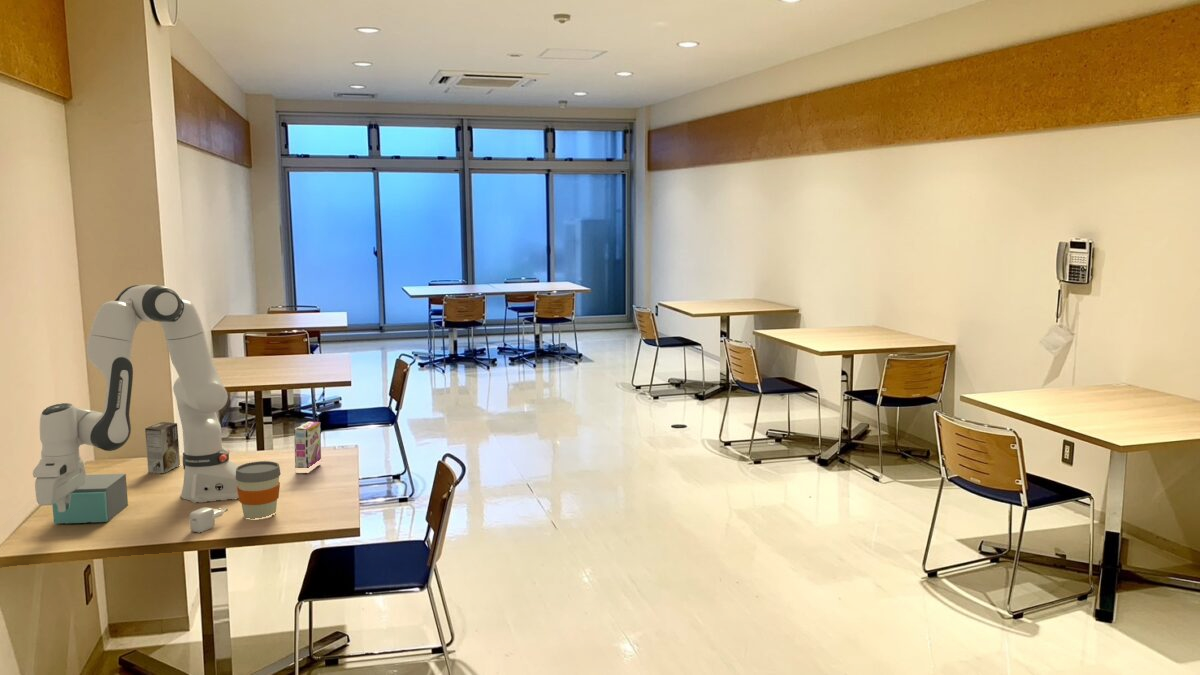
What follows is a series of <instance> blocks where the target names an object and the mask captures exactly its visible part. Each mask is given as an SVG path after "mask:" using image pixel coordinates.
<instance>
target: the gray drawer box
mask: <svg viewBox="0 0 1200 675" xmlns="http://www.w3.org/2000/svg"><path fill="white" fill-rule="evenodd" d="M127 486H128V485H127V473H104V474H103V473H102V474H86V481H85V484H83V485H82V486H80V487H79V488H77V489H76V490H74V491H73V492H103V491H106V498H107V512H108V521H107V522H106V523H109V522H110V521H111V520H113V519H114V518H115V517H116V516H117V515H119V514H120V513H121V512H122V511H123V510H124V509H126V508H127V507H128V506H129V501H128V500H129V499H128V487H127ZM73 492H72V493H73ZM86 523H87V522H86Z"/></svg>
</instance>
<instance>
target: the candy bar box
mask: <svg viewBox="0 0 1200 675" xmlns="http://www.w3.org/2000/svg"><path fill="white" fill-rule="evenodd" d="M321 439H322V437H321V422H320V421H307V422H305V423H302V424H301V425H299V426H297V427H294V459H295V460H294V467H295V468H309V467H310V466H312V465H313V464H315V463H316V462H317V461H319V460H320V459H321V460H322V447H321V446H322V442H321V441H322V440H321ZM295 468H294V469H295Z"/></svg>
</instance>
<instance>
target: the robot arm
mask: <svg viewBox="0 0 1200 675" xmlns="http://www.w3.org/2000/svg"><path fill="white" fill-rule="evenodd" d="M142 322H146V323H147V322H149V323H150V322H158V323H159V324H160V325H161V327H162V330H163V335H164V337H165V338H164V339H165V341H166V346H167V349H168V353H169V357H170V362H171V364H172V365H173V367H174V369H175V370H176V372H177V375H178V377H177V379H176V380H175V381H174V384H173V386H172V389H173V394H174V397H175V399H176V400H175V401H176V405H177V410H178V415H179V418H180V423H181V428H182V440H183V452H182V467H183V470H184V472H183V473H184V474H183V484H182V490H181V492H180V497H181V498H182V499H184V500H188V501H191V503H193V502H194V503H195V504H197V503H196V502H199V503H207V501H210V502H217V501H216V500H221V501H228V500H227V499H232V500H236V499H235V498H239V496H238V491H237V486H238V483H237V480H236V479H235V478H236V468H237V467H238V466H239V465H238V464H236V463H235V462H233V461H232V460H230V456H229V455H230V450H229V449H228V450H225V449H224V448H223V447H222V446H223V441H222V426H221V423H220V421H219V419H218V414H217V412H219V411H220V410H223V408H224V407H225V406H226V404H227V401H228V397H229V396H228V391H227V389H226V387H225V386H224V384H223V382H222V379H221V376H220V374H219V371H218V369H217V367H216V364H215V363H214V360H213V359H212V356H211V353H210V352H211V351H210V349H209V345H208V342H207V337H206V334H205V330H204V326H203V323H202V320H201V317H200V316H199V313H198V311H197V309H196V307H195V305H194V304H193V303H192V301H190V300H188V299H187V300H186V299H181V298H180V296H179V295H178V293H177V292H176V291H175V290H174V289H172V288H171V287H168V286H165V285H157V284H156V285H155V284H142V285H138V284H137V285H135V284H134V285H130V286H128V287H126V288H124V289H123V290H122V291H121V292H120V293H119V294H118V296H117V298H115V299H114V300H109V301H106V302H104V303H102V304H101V305H100V306H99V308H98V310H97V311H96V314H95V317H94V320H93V321H92V324H91V328H90V331H89V336H88V339H87V344H86V356H87V358H88V361H89V362H90V363H91V364H92V365H93V366H94V367H95V368H96V369H98V371H99V372H100V373H101V374H102V375H103V377H104V379H105V381H106V394H105V402H104V410H103V411H102V412H101V411H97V410H92V409H91V410H90V409H86V408H85V409H84V408H80V407H77V406H75V405H73V404H72V403H69V402H68V403H65V402H64V403H62V402H61V403H57V404H52V405H50V406H48V407H46V408H45V409H43V410H42V411H41V414H40V418H39V440H40V443H41V445H42V449H41V451H40V452H41V453H40V458H41V459H40V460H39V462H38V464H37V465H36V466H35V467H34V468H33V471H32V477H33V478H36V479H35V482H34V483H35V484H34V489H35V490H34V491H35V498H36V499H35V500H36V502H37V505H39V506H43V507H44V506H52V505H53V504H55V503H56V505H57V506H58V512H64V511H66V510H67V509H69V508H70V500H71V496H72V492H73V491H74V490H76V489H77V488H79V487H80V486H82V485H83V484H85V481H86V475H87V474H86V468H85V463H84V461H83V460H81V456H80V446H83V445H87V446H92V447H95V448H97V449H100V450H103V451H107V452H111V451H116V450H119V449H121V448H122V447H123V446H124V445H125V444H126V443H127V442H128V440H129V438H130V436H131V432H132V426H131V425H132V424H131V420H130V419H131V418H130V407H131V401H132V400H131V398H132V390H133V388H132V387H133V379H134V378H133V377H134V368H133V364H132V347H133V342H134V337H135V332H136V330H137V328H138V326H139V325H140V324H141V323H142Z"/></svg>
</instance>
